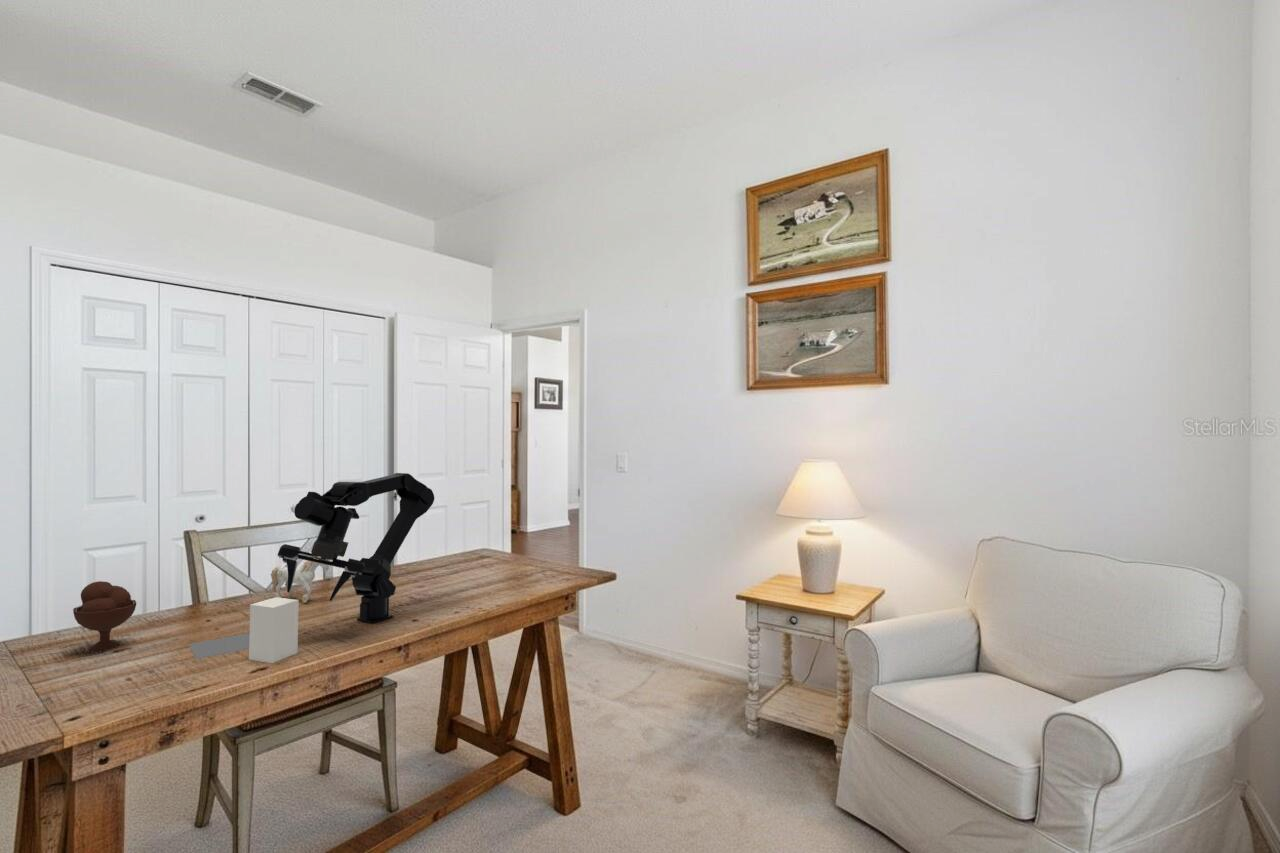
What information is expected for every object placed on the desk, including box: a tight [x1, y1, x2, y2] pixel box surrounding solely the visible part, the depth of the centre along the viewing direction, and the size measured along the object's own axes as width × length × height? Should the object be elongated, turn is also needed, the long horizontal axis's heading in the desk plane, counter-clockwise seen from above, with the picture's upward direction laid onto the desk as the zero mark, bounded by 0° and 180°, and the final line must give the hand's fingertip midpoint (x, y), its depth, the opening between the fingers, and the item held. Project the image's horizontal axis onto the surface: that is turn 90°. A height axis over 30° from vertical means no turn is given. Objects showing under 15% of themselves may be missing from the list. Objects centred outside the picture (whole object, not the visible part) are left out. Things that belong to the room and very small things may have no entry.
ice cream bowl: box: [72, 580, 138, 653], centre depth 139 cm, size 11×11×15 cm
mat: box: [187, 632, 250, 660], centre depth 141 cm, size 12×12×1 cm
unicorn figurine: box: [269, 556, 330, 604], centre depth 179 cm, size 7×20×13 cm, turn 97°
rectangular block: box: [248, 596, 299, 664], centre depth 135 cm, size 6×6×12 cm
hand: (309, 596), depth 145 cm, fingers open, 9 cm apart
